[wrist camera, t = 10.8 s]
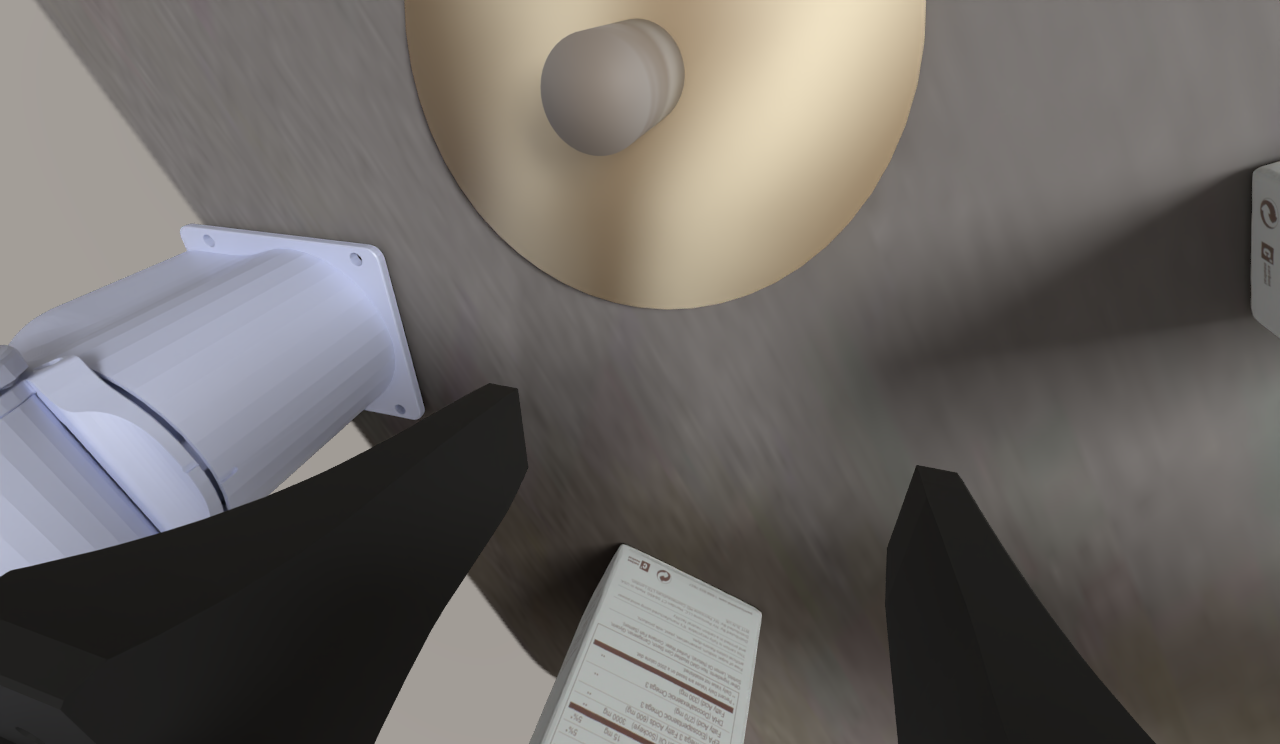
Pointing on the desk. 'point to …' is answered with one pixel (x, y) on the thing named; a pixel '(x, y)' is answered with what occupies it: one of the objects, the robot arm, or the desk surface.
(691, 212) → the post base
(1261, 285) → the skincare box
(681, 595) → the supplement box
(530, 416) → the desk surface
